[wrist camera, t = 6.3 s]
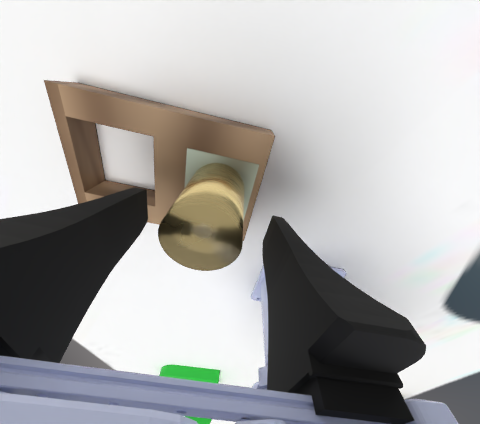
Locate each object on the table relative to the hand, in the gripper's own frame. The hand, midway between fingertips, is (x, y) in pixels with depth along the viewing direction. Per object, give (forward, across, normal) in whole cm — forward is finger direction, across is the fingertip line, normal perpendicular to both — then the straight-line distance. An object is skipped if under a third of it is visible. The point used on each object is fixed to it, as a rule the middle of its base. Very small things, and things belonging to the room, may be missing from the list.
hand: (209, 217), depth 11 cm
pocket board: (+6, +4, 0) cm, 8 cm away
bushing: (+4, 0, 0) cm, 4 cm away
